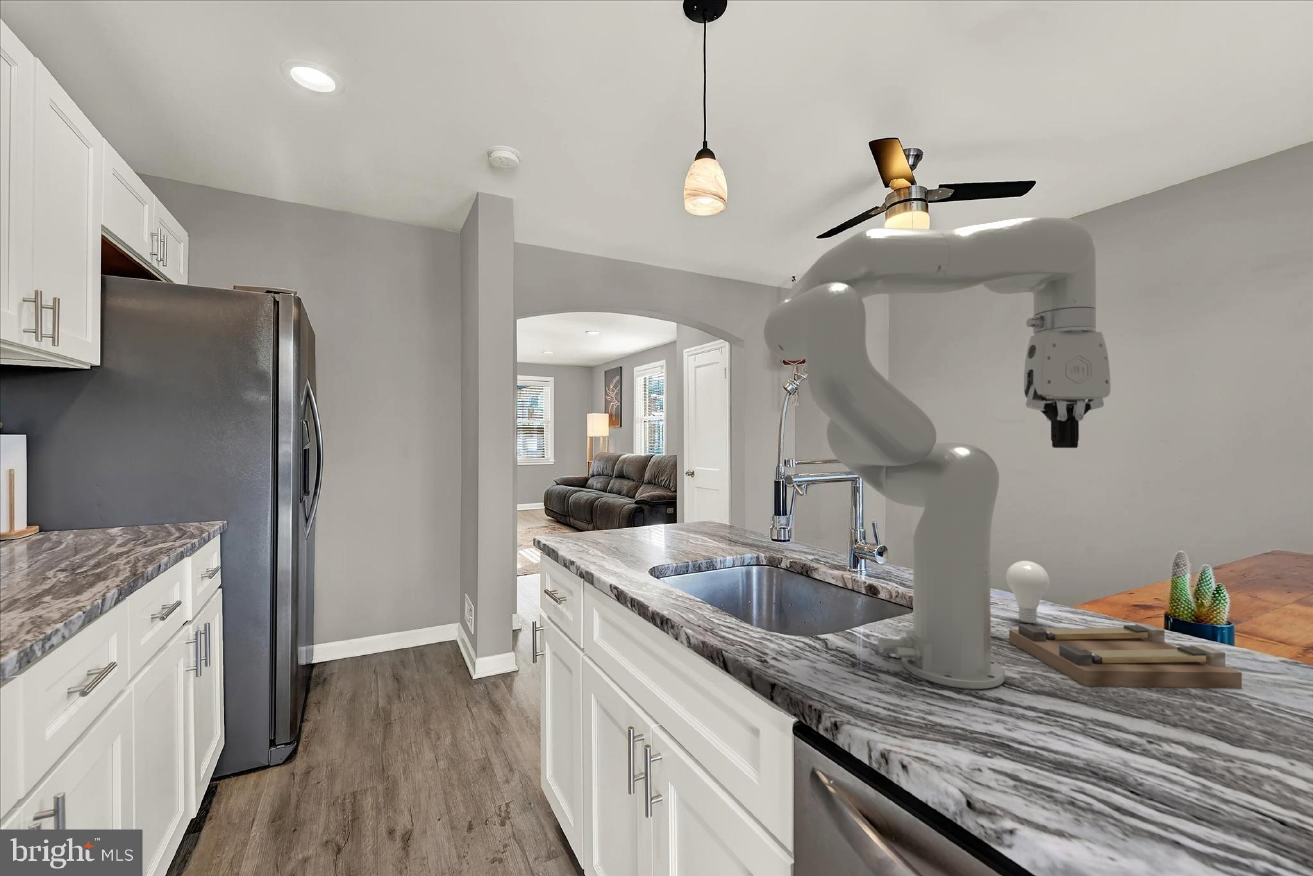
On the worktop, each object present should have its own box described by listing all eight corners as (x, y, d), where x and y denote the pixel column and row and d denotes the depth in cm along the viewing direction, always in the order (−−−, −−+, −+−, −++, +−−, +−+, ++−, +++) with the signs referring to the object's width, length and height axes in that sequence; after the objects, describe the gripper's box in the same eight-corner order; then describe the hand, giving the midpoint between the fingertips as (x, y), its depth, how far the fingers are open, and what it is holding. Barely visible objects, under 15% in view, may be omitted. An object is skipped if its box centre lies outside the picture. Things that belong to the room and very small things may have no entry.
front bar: (1094, 663, 74) (1094, 655, 74) (1081, 656, 77) (1081, 648, 77) (1206, 661, 74) (1205, 653, 74) (1189, 654, 76) (1189, 646, 76)
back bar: (1048, 639, 83) (1048, 632, 83) (1037, 634, 86) (1037, 627, 86) (1147, 637, 83) (1147, 630, 83) (1134, 632, 85) (1134, 625, 85)
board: (1085, 686, 72) (1084, 656, 72) (1009, 642, 88) (1009, 618, 88) (1241, 688, 71) (1241, 658, 72) (1137, 643, 87) (1136, 619, 88)
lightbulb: (1058, 629, 94) (1058, 565, 94) (1021, 629, 94) (1020, 564, 94) (1033, 618, 100) (1033, 557, 100) (998, 617, 100) (998, 557, 101)
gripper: (1029, 320, 79) (1030, 447, 79) (1135, 320, 79) (1136, 448, 79) (998, 331, 87) (999, 447, 87) (1095, 330, 87) (1096, 447, 86)
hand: (1064, 447), depth 83 cm, fingers closed
